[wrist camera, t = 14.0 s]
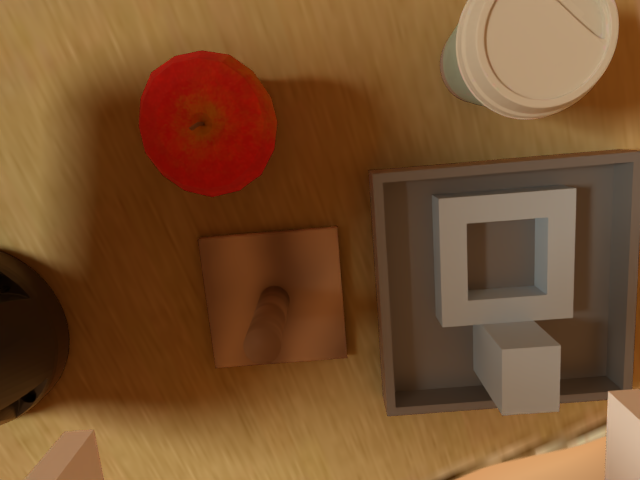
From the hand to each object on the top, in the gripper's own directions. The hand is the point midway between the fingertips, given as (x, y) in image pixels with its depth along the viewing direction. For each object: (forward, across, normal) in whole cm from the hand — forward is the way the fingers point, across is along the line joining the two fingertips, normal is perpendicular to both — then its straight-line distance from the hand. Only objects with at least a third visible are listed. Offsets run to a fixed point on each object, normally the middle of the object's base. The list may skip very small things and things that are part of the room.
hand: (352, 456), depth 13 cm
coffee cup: (+29, +12, +12) cm, 34 cm away
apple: (+29, -7, +9) cm, 31 cm away
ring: (+28, +13, -5) cm, 31 cm away
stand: (+29, -5, -5) cm, 30 cm away
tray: (+29, +13, -5) cm, 32 cm away
